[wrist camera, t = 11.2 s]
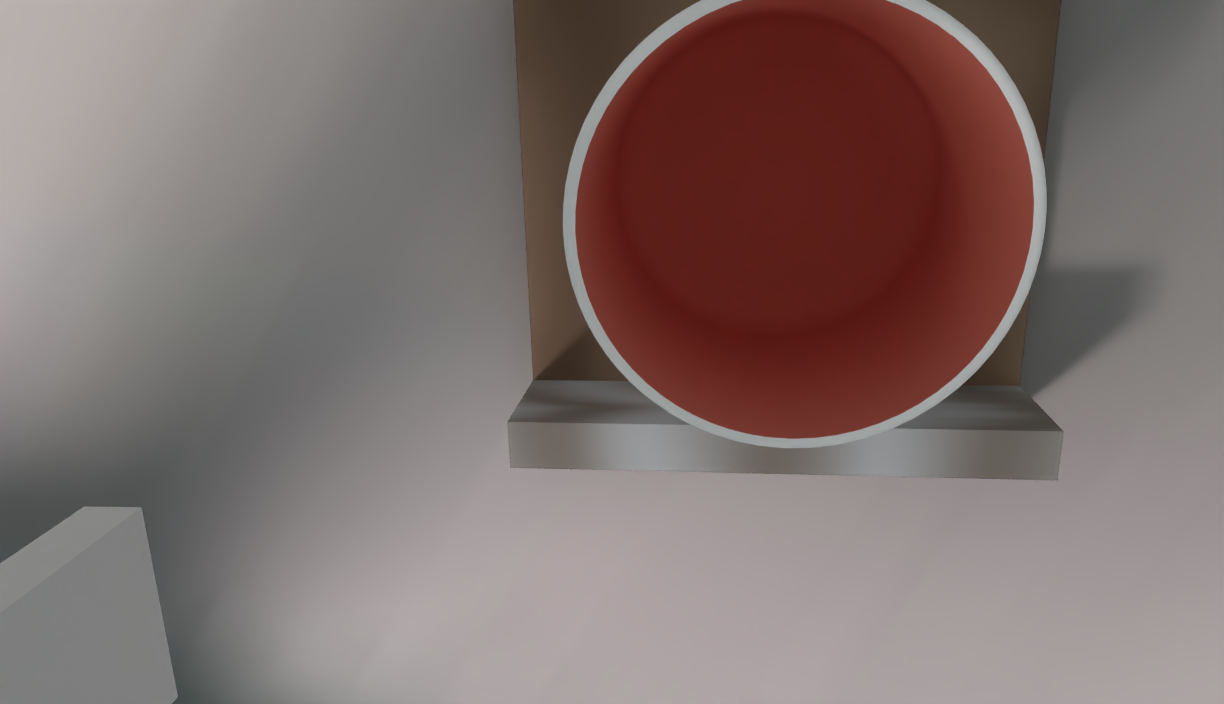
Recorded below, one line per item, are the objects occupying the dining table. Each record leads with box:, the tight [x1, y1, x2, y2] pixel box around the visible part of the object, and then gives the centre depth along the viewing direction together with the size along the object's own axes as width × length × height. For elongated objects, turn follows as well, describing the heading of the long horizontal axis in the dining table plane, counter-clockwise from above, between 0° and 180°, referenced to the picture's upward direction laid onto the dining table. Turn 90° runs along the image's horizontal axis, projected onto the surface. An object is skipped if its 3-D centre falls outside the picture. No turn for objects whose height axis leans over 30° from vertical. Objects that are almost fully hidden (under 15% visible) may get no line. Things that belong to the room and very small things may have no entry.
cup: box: [563, 0, 1047, 448], centre depth 24 cm, size 10×10×10 cm
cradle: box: [508, 0, 1064, 480], centre depth 27 cm, size 16×16×5 cm
